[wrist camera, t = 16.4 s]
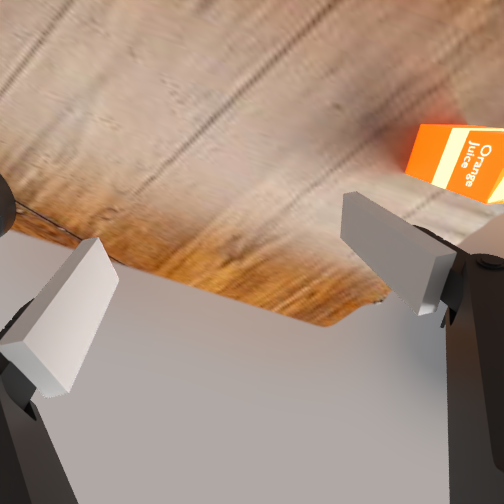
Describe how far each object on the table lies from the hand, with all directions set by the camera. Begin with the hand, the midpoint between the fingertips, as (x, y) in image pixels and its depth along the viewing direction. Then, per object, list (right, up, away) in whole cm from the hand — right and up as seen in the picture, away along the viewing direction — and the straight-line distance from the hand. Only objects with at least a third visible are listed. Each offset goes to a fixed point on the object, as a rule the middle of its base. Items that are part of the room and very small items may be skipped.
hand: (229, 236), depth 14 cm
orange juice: (+31, +16, +28) cm, 45 cm away
